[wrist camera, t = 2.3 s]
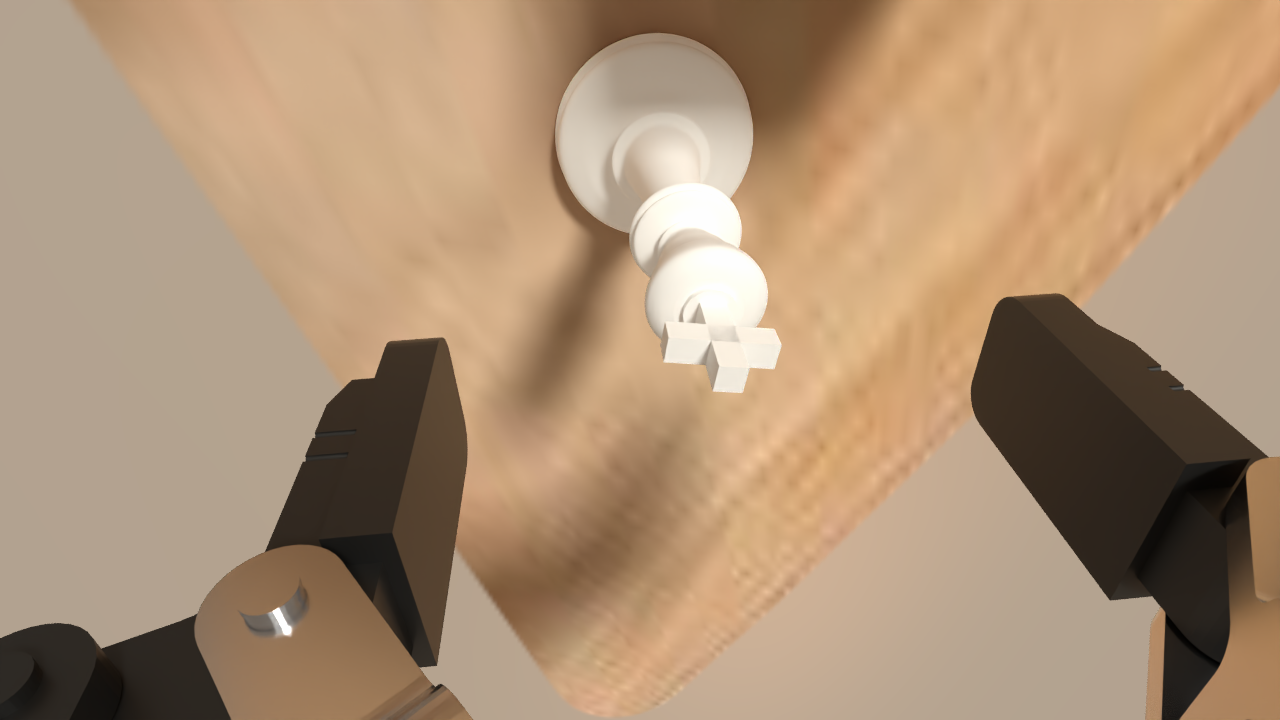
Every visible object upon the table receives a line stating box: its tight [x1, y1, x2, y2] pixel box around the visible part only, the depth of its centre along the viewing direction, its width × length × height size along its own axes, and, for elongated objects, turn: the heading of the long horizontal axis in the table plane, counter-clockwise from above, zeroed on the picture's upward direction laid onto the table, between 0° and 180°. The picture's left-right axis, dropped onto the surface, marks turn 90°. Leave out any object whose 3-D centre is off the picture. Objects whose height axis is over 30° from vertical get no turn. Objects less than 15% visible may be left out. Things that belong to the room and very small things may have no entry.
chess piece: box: [555, 33, 782, 393], centre depth 14 cm, size 5×5×10 cm
